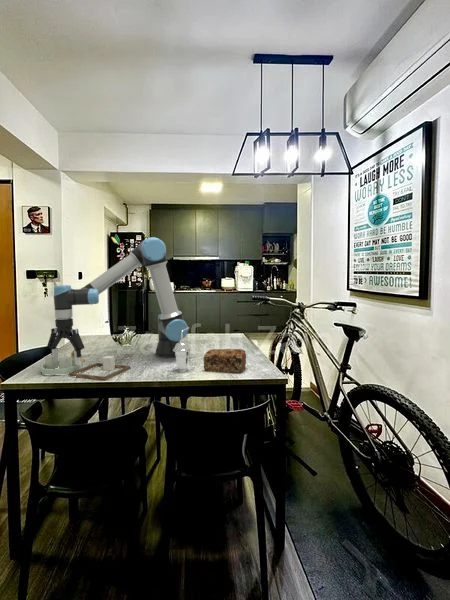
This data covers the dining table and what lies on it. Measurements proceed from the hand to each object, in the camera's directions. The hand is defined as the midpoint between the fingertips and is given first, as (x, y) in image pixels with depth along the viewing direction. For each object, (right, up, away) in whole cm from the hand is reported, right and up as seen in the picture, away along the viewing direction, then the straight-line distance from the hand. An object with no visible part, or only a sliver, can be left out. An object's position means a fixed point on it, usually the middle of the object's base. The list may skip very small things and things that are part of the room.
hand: (66, 363), depth 169 cm
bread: (+75, -3, 0) cm, 75 cm away
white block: (-1, -3, +1) cm, 3 cm away
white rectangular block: (-8, -3, +3) cm, 9 cm away
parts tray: (+17, -4, -2) cm, 18 cm away
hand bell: (-3, -3, +19) cm, 19 cm away
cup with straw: (+55, -3, 0) cm, 55 cm away
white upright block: (+19, -3, +3) cm, 20 cm away
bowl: (-3, -4, +2) cm, 5 cm away
